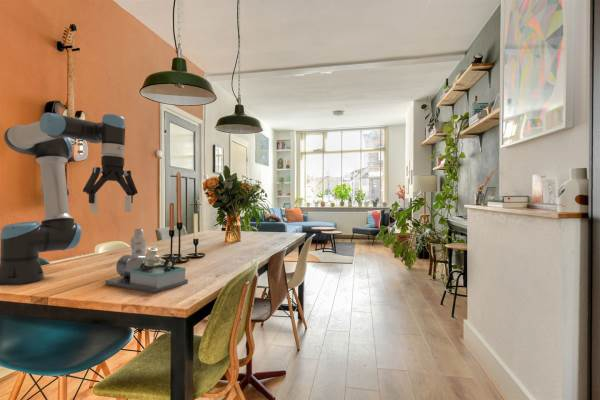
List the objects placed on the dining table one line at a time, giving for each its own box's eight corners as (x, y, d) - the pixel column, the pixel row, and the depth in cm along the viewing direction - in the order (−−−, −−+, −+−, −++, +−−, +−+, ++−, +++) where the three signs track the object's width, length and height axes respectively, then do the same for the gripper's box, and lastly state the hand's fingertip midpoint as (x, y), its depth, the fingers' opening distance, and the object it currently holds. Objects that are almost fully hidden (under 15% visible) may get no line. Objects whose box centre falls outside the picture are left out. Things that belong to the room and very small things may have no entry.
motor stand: (105, 284, 126) (106, 257, 126) (142, 275, 141) (143, 251, 141) (153, 293, 115) (154, 264, 115) (187, 282, 131) (188, 257, 131)
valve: (138, 264, 125) (163, 274, 121) (142, 248, 124) (166, 257, 121) (151, 261, 131) (175, 271, 127) (154, 246, 130) (178, 255, 127)
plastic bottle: (145, 274, 144) (146, 229, 144) (128, 275, 142) (129, 229, 142) (146, 271, 150) (147, 228, 150) (130, 271, 148) (131, 228, 148)
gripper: (85, 150, 109) (84, 213, 108) (147, 160, 131) (146, 211, 131) (72, 151, 112) (70, 212, 112) (135, 160, 134) (133, 211, 134)
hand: (111, 212), depth 121 cm, fingers open, 13 cm apart
